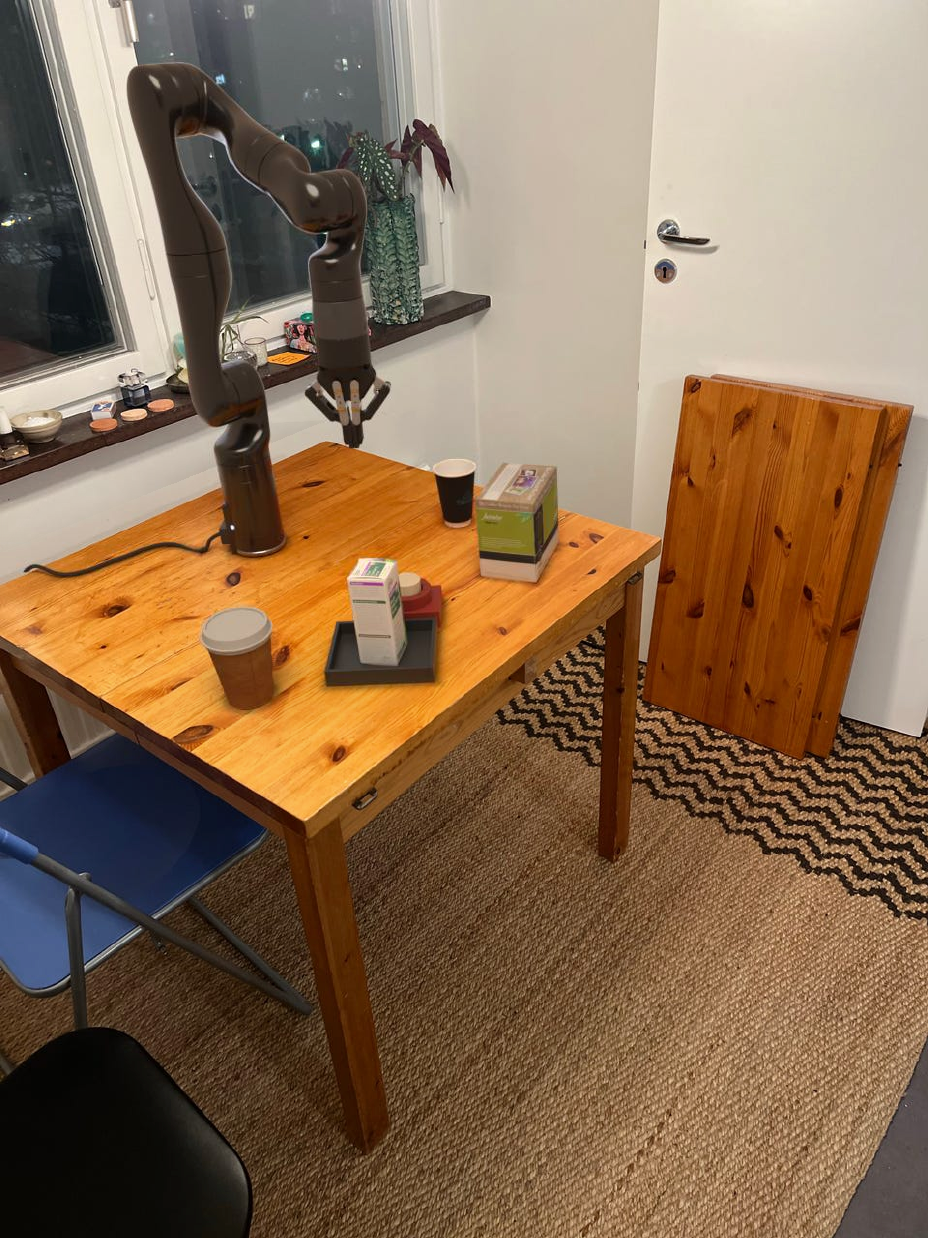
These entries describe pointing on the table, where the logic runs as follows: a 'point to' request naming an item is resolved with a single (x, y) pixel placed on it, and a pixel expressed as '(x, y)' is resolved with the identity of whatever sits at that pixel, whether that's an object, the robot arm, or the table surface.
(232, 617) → the disposable coffee cup
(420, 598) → the red square pod holder
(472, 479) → the dixie cup
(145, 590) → the table surface
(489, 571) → the tea box
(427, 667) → the tray
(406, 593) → the button
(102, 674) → the table surface
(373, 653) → the syrup box
